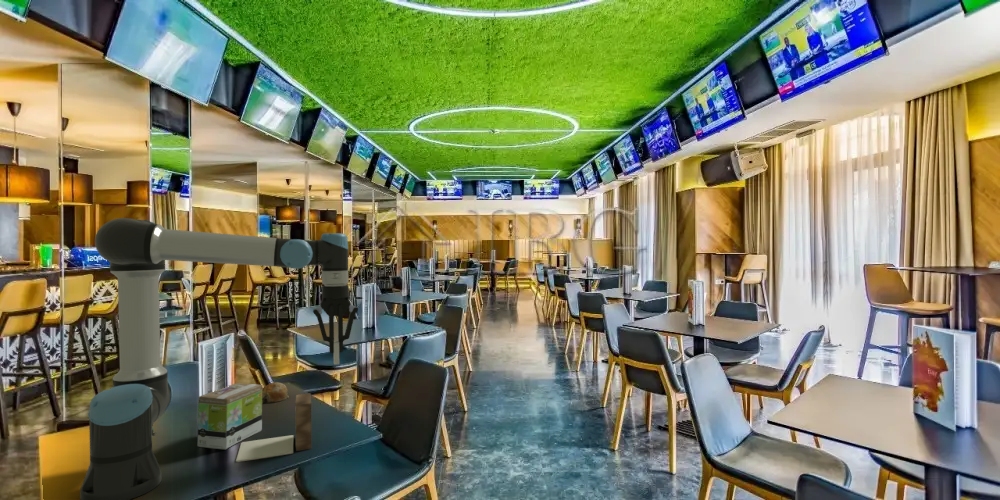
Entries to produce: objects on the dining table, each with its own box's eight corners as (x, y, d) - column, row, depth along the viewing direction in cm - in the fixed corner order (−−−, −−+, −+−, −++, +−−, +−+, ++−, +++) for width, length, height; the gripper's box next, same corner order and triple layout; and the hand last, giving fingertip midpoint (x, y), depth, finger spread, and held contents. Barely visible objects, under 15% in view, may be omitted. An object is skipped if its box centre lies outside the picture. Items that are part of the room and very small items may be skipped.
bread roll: (285, 410, 179) (295, 390, 180) (257, 403, 174) (267, 382, 175) (281, 403, 187) (291, 383, 189) (254, 396, 182) (264, 375, 184)
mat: (235, 462, 128) (235, 460, 128) (241, 443, 140) (241, 442, 140) (293, 453, 134) (293, 452, 134) (293, 436, 146) (293, 434, 146)
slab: (295, 451, 135) (295, 405, 135) (295, 437, 144) (295, 394, 144) (311, 448, 137) (311, 403, 137) (310, 435, 146) (310, 393, 146)
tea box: (227, 450, 136) (226, 398, 135) (196, 447, 138) (196, 396, 138) (263, 430, 150) (263, 383, 150) (235, 428, 152) (235, 381, 152)
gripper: (312, 286, 138) (313, 368, 138) (359, 284, 143) (360, 364, 143) (311, 284, 145) (312, 362, 145) (356, 283, 150) (357, 358, 150)
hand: (336, 363), depth 144 cm, fingers closed
